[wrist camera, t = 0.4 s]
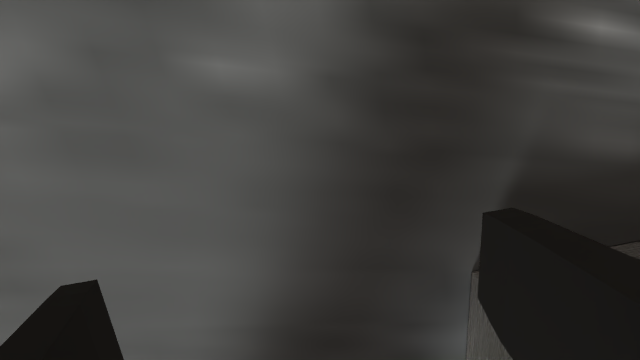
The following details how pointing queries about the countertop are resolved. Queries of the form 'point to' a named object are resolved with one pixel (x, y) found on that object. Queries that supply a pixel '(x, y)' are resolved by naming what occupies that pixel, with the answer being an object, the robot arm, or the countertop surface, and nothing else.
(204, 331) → the countertop surface
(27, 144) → the countertop surface
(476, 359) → the dispenser
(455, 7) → the countertop surface
